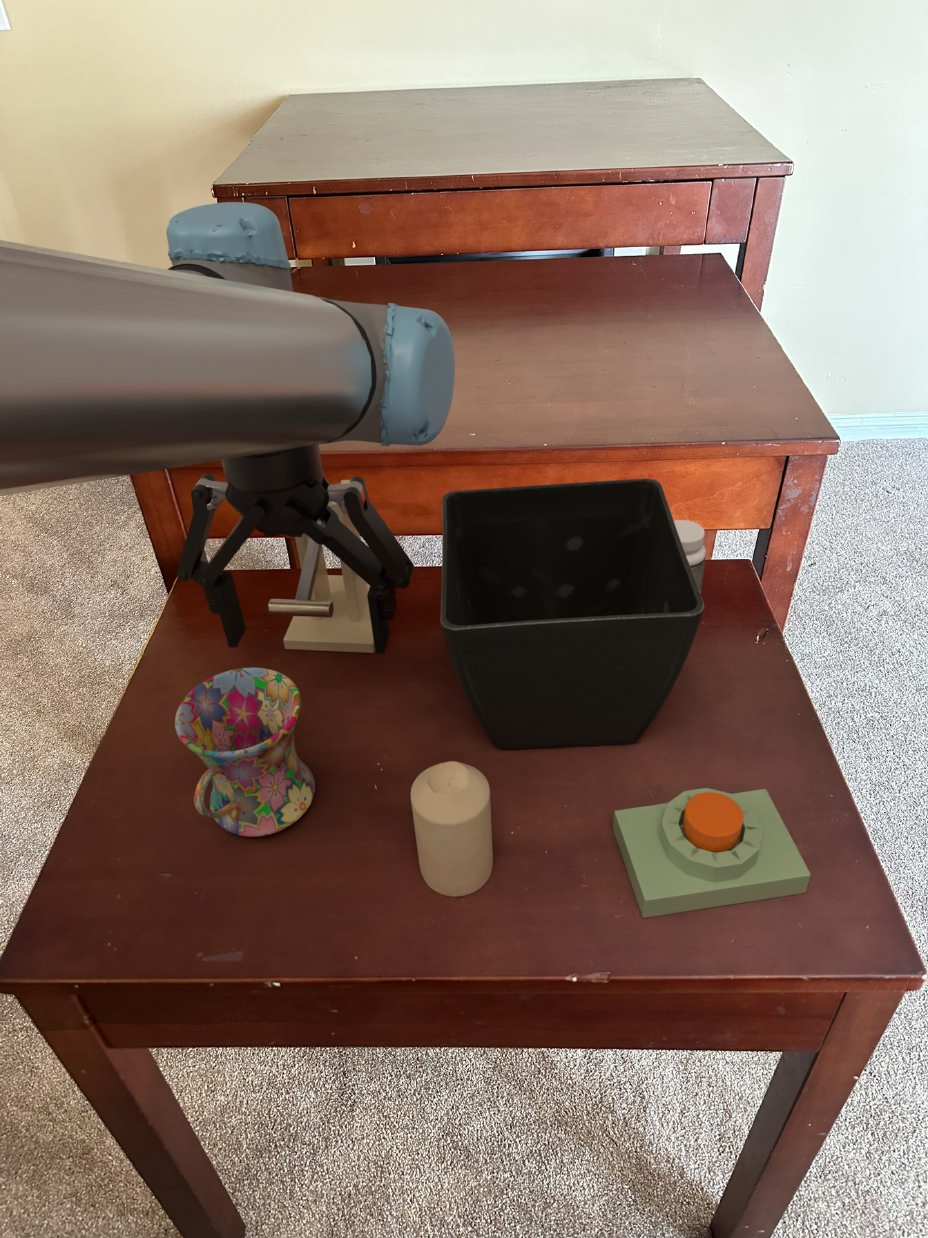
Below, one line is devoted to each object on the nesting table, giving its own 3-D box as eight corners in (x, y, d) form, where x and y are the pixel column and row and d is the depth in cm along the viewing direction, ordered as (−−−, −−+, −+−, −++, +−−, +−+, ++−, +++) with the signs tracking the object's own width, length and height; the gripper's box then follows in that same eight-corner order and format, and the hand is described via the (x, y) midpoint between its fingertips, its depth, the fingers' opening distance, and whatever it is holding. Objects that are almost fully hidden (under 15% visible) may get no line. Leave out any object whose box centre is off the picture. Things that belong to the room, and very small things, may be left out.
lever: (333, 623, 79) (327, 609, 77) (272, 621, 79) (265, 606, 77) (356, 504, 85) (351, 488, 83) (300, 503, 86) (294, 487, 84)
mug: (239, 750, 78) (211, 659, 71) (338, 768, 76) (319, 676, 69) (169, 863, 69) (129, 770, 62) (279, 887, 67) (250, 794, 60)
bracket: (374, 653, 87) (355, 524, 78) (284, 649, 88) (255, 522, 79) (394, 585, 96) (379, 462, 86) (313, 583, 97) (289, 461, 88)
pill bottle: (695, 584, 93) (705, 516, 88) (703, 612, 89) (713, 543, 84) (649, 585, 93) (656, 517, 88) (655, 613, 90) (662, 544, 85)
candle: (494, 896, 65) (490, 807, 59) (419, 899, 65) (406, 810, 59) (492, 835, 69) (488, 746, 63) (421, 837, 70) (410, 749, 63)
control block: (642, 918, 63) (647, 885, 61) (612, 828, 69) (615, 794, 67) (805, 893, 64) (816, 859, 62) (761, 806, 70) (769, 772, 68)
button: (693, 856, 63) (696, 840, 62) (675, 811, 66) (677, 796, 65) (748, 847, 63) (752, 832, 62) (727, 804, 66) (730, 788, 65)
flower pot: (453, 783, 74) (439, 625, 63) (452, 636, 89) (441, 488, 78) (684, 773, 73) (709, 612, 63) (644, 627, 88) (659, 477, 78)
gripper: (89, 448, 67) (163, 662, 80) (419, 453, 63) (439, 675, 77) (130, 403, 72) (193, 610, 86) (434, 406, 69) (450, 620, 82)
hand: (309, 641), depth 81 cm, fingers open, 13 cm apart
